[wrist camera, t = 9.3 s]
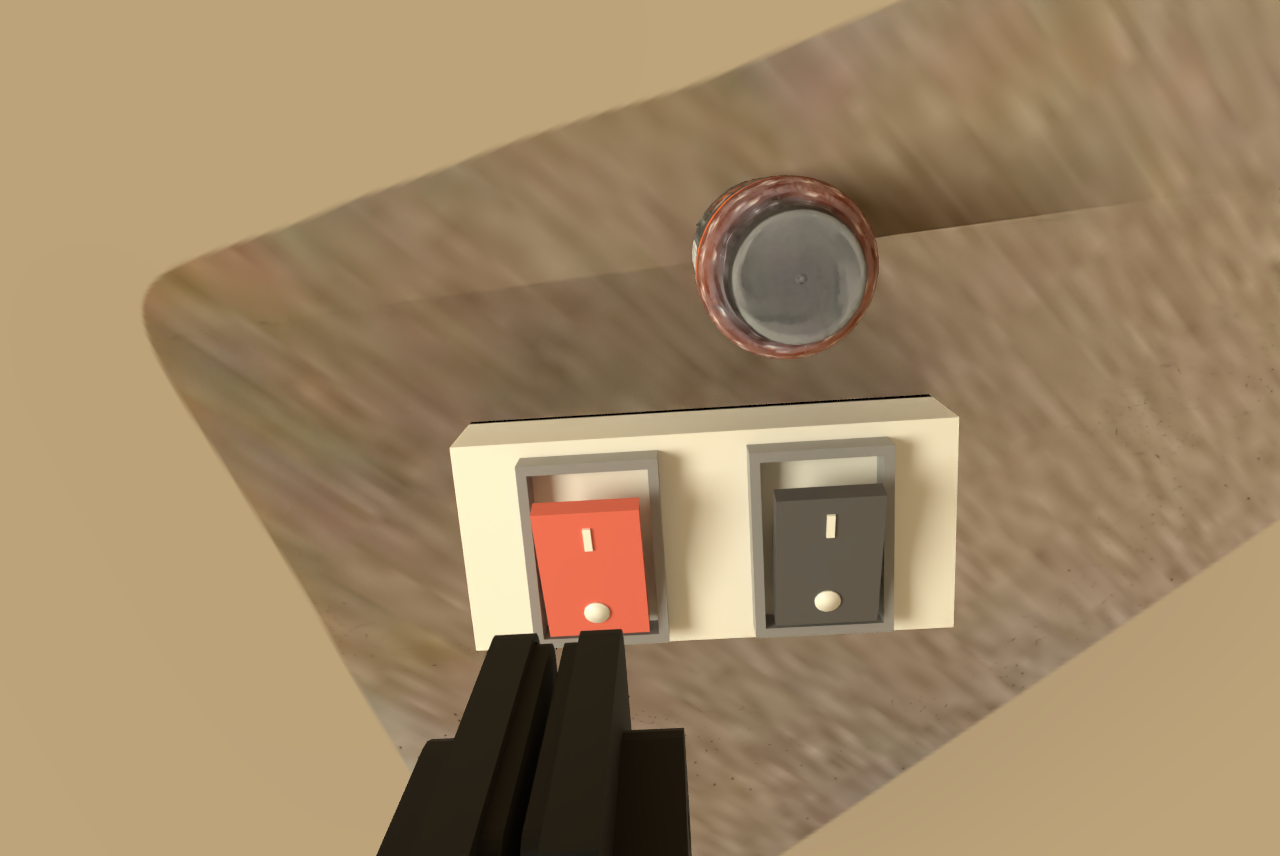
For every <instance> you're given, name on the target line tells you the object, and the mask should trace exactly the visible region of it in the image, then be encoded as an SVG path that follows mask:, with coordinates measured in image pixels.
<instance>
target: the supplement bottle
mask: <svg viewBox="0 0 1280 856" xmlns="http://www.w3.org/2000/svg"><path fill="white" fill-rule="evenodd" d="M692 260H693V269H694V274H695V278H696V282H697V286H698V291H699V294H700V297H701V300H702V303H703V305H704V307H705V309H706V311H707V313H708V315H709V317H710V318H711V319H712V321H713V322H714V324H715V325H716V326H717V328H718V329H719V330H720V331H721V332H722V333H723V334H724V335H725V336H726V337H727V338H728V339H729V340H731V341H732V342H733V343H735V344H736V345H738V346H739V347H741V348H742V349H744V350H747V351H749V352H751V353H754V354H756V355H759V356H763V357H769V358H774V359H795V358H802V357H806V356H810V355H813V354H816V353H818V352H821V351H823V350H826V349H828V348H830V347H831V346H833V345H834V344H836V343H837V342H839V341H840V340H842V339H843V338H844V337H845V336H846V335H847V334H848V333H849V332H851V331H852V329H853V328H854V327H855V326H856V325H857V324H858V322H859V321H860V320H861V318H862V317H863V316H864V314H865V312H866V310H867V308H868V306H869V305H870V303H871V300H872V297H873V295H874V292H875V288H876V283H877V278H878V273H879V257H878V248H877V244H876V240H875V237H874V234H873V231H872V229H871V226H870V224H869V222H868V220H867V219H866V217H865V216H864V214H863V213H862V212H861V211H860V209H859V208H858V207H857V205H856V204H855V203H854V202H853V201H852V200H851V199H850V198H848V197H847V196H846V195H845V194H844V193H843V192H841V191H840V190H838V189H837V188H835V187H834V186H831V185H829V184H827V183H825V182H822V181H819V180H816V179H813V178H809V177H803V176H788V175H781V176H771V177H766V178H758V179H752V180H750V181H744V182H742V183H740V184H738V185H736V186H734V187H732V188H730V189H728V190H727V191H726V192H725V193H723V194H722V195H721V196H719V198H718V199H716V200H715V201H714V202H713V203H712V204H711V205H710V207H709V208H708V209H707V210H706V212H705V213H704V215H703V217H702V219H701V220H700V222H699V223H698V224H697V230H696V234H695V238H694V243H693V251H692Z"/></svg>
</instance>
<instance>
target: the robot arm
mask: <svg viewBox="0 0 1280 856" xmlns="http://www.w3.org/2000/svg"><path fill="white" fill-rule="evenodd" d="M376 856H692V854H691V833H690V814H689V796H688V780H687V765H686V749H685V735H684V728H671V729H648V730H631V719H630V707H629V695H628V683H627V671H626V659H625V647H624V637H623V631H622V629H609V630H589V631H580V634H579V639H578V642H570V643H564V647H563V651H562V656H561V660H560V665H559V669H558V674H557V664H556V655H555V649H554V645H553V643H550V644H540V641H539V637H538V635H537V633H529V634H509V635H495V636H494V637H493V639H492V642H491V644H490V647H489V649H488V652H487V655H486V657H485V660H484V662H483V665H482V668H481V670H480V673H479V675H478V678H477V681H476V683H475V686H474V688H473V691H472V693H471V696H470V699H469V701H468V704H467V706H466V709H465V712H464V714H463V717H462V719H461V722H460V725H459V727H458V730H457V732H456V735H455V738H448V739H431V740H429V741H427V743H426V744H425V746H424V748H423V749H422V752H421V754H420V756H419V759H418V761H417V763H416V766H415V768H414V770H413V772H412V775H411V777H410V779H409V782H408V784H407V786H406V789H405V791H404V793H403V795H402V798H401V800H400V802H399V805H398V807H397V810H396V812H395V814H394V816H393V819H392V821H391V823H390V826H389V828H388V830H387V832H386V835H385V837H384V839H383V842H382V844H381V846H380V848H379V851H378V853H377V855H376Z"/></svg>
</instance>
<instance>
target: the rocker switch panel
mask: <svg viewBox="0 0 1280 856" xmlns="http://www.w3.org/2000/svg"><path fill="white" fill-rule="evenodd" d="M958 436H959V417H958V416H957V415H955V414H954V413H953V412H952V411H950V410H949V409H948V408H946V407H945V406H944V405H942V404H941V403H940V402H938V401H937V400H936V399H934V398H933V397H932V396H931V395H929V394H922V395H906V396H890V397H873V398H857V399H840V400H824V401H808V402H791V403H775V404H759V405H742V406H726V407H710V408H693V409H677V410H660V411H644V412H628V413H611V414H595V415H579V416H562V417H546V418H530V419H513V420H497V421H480V422H471V423H470V424H469V425H468V426H467V428H466V429H465V430H464V431H463V432H462V434H461V435H460V436H459V437H458V438H457V439H456V441H455V442H454V443H453V444H452V445H451V447H450V455H451V462H452V470H453V478H454V485H455V493H456V500H457V508H458V515H459V523H460V531H461V538H462V546H463V553H464V561H465V568H466V576H467V584H468V591H469V599H470V606H471V614H472V621H473V629H474V637H475V644H476V651H478V650H488V649H489V647H490V644H491V642H492V639H493V637H494V636H495V635H509V634H529V633H537V635H538V637H539V641H540V644H550V643H553V645H554V648H563V647H564V643H570V642H578V639H579V635H576V636H556V637H550V631H549V625H548V619H547V613H546V608H545V602H544V596H543V590H542V584H541V578H540V573H539V567H538V561H537V555H536V549H535V543H534V538H533V532H532V526H531V520H530V513H531V508H532V503H548V502H566V501H584V500H601V499H619V498H636V497H639V505H640V516H641V527H642V538H643V549H644V560H645V571H646V581H647V592H648V603H649V614H650V632H636V633H623V637H624V645H628V644H648V643H669V642H670V641H681V640H701V639H721V638H742V637H756V638H770V637H790V636H811V635H831V634H851V633H872V632H892V631H894V630H904V629H924V628H944V627H953V625H954V587H955V549H956V512H957V474H958ZM876 483H883V485H884V488H885V490H886V493H887V495H888V498H887V510H886V522H885V534H884V546H883V558H882V570H881V582H880V594H879V606H878V619H877V621H862V622H842V623H821V624H801V625H781V626H776V625H775V620H774V614H773V550H772V523H773V489H788V488H806V487H823V486H841V485H858V484H876Z"/></svg>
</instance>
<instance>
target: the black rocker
mask: <svg viewBox="0 0 1280 856" xmlns="http://www.w3.org/2000/svg"><path fill="white" fill-rule="evenodd" d="M887 498H888V495H887V493H886V490H885V488H884V485H883V483H876V484H858V485H841V486H823V487H806V488H788V489H773V523H772V550H773V614H774V620H775V625H776V626H781V625H801V624H821V623H842V622H862V621H877V619H878V606H879V594H880V582H881V570H882V558H883V546H884V534H885V522H886V510H887Z"/></svg>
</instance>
